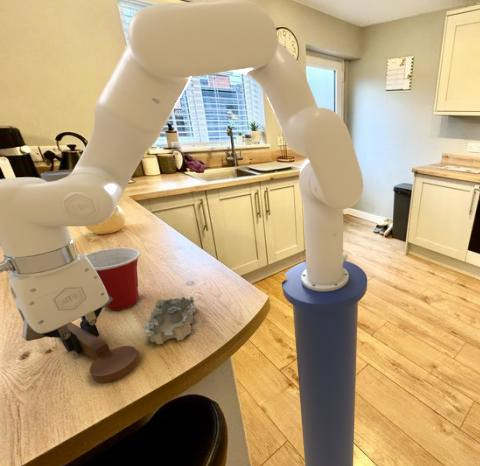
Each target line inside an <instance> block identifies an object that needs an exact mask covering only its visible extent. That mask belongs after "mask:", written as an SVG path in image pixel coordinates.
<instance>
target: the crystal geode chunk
mask: <svg viewBox="0 0 480 466" xmlns="http://www.w3.org/2000/svg"><path fill="white" fill-rule="evenodd" d="M195 302H196V300H195V298H194V296H190V297H189V298H186V297H184V296H181V298H178V297H175V298H169V299H157V300H156V303H155V305H154V309H152V311H151V312H150V315H149V317H148V318H147V322H146V323H145V325H143V331H144V333H145V335H146V337H149V341H150V342H152V343H155V344H156V345H163V344H165V342H166V341H168V340H170V339H176V340H177V341H182V340H184V339H185V338H186V337H187V336H188V335H191V333H192V326H191V325H192V324H194V318H193V317H194V315H193V314H195V313H196V308H195Z"/></svg>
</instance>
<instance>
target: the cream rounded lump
mask: <svg viewBox="0 0 480 466" xmlns="http://www.w3.org/2000/svg"><path fill="white" fill-rule="evenodd" d="M126 221H127V218H126V214H125V211H124V210H123V209H122V207H120V206H119V205H117V207H116V209H115V211H114V213H113V214H112V216H111V217H110V218H109V219H107V220H106V221H104V222H102V223H99V224H96V225H91V226H84V227H85V228H86V229H87V230H88V231H89V232H91V233H93V234H96V235H107V234H108V235H109V234H113V233H116V232H118V231H120V230H122V229H123V228H124V227H125V225H126Z"/></svg>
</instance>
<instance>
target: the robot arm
mask: <svg viewBox="0 0 480 466" xmlns="http://www.w3.org/2000/svg"><path fill="white" fill-rule="evenodd" d="M127 37H128V42H127V44H126V46H125V48H124V50H123V51H122V54H121V55H120V57H119V59H118V62H117V63H116V65H115V67H114V69H113V70H112V73H111V74H110V76H109V78H108V79H107V82H106V83H105V85H104V87H103V88H102V90H101V93H100V94H99V96H98V98H97V100H96V102H95V105H94V110H93V111H94V113H93V114H94V115H93V118H94V123H93V128H92V132H91V135H90V136H89V139H88V141H87V144H86V146H85V148H84V150H83V152H82V153H81V155H80V157H79V159H78V161H77V162H76V164H75V165H74V168H73V169H72V170H73V171H72V173H71V174H69V175H68V176H67V177H65V178H62V179H60V180H57V181H51V182H46V181H45V180H43V179H42V178H41V177H35V176H33V177H32V176H23V177H8V178H0V249H1V251H2V253H3V255H2V257H3V259H2V260H3V261H2V260H1V261H0V274H1V273H5V272H6V273H7V272H10V273H8V283H9V287H10V292H11V295H12V298H13V301H14V303H15V306H16V309H17V312H18V314H19V316H20V318H21V320H22V322H23V326H22V335H21V337H22V339H24V340H25V341H27V342H31V341H36V340H39V339H43V338H55V339H60V341H61V342H62V344H63V347H64V349H65V350H66V351H67V352H69V353H70V352H72V351H73V352H74V353H75V354H77V355H80V354H82V353H83V350H82V348H81V346H80V343H79V341H78V338H77V336H76V335H75V334H73V333H72V332H71V331H70V330H69V329H68V327H67V325H66V324H68V323H70V322H72V323H73V322H74V321H76V320H79V319H81V321H80V322H79V327H80V328H82V329H84V330H85V331H87V332H89V333H91V334H92V335H94V336H96V337H97V338H98V337H100V332H99V329H98V327H97V323H98V318H99V317H100V314H101V313H102V311H103V309H104V308H107V307H106V306H107V305H108V304H109V303H110V302H111V301H112V300H113V299H112V298H111V297H110V296H109V295H108V294H107V291H106V289H105V287H104V285H103V283H102V281H101V279H100V277H99V275H98V273H97V272H96V270H95V268H94V267H93V265H92V264H91V262H90V260H89V259H88V258H87V257H86V254H83V253H79V252H78V250H77V248H76V245H75V243H74V239H73V237H72V235H71V232H70V229H69V227H85V226H91V225H96V224H99V223H102V222H104V221H106V220H107V219H109V218H110V217H111V216H112V214H113V213H114V211H115V209H116V207H117V206H119V205H118V204H119V202H120V200H121V198H122V197H123V195H124V193H125V190H126V188H127V187H128V184H129V183H130V181H131V179H132V177H133V175H134V173H135V172H136V170H137V168H138V167H139V165H140V163H141V161H142V160H143V158H144V156H145V155H146V153H147V152H148V151H149V149H151V147H153V146H154V145H155V143H156V142H157V141H158V139H159V137H160V135H161V134H162V132H163V130H164V129H165V126H166V124H168V123H167V122H168V121H169V119H170V117H171V115H172V114H173V111H174V110H175V108H176V106H177V104H178V103H179V101H180V99H181V98H182V95H183V93H184V92H185V90H186V89H187V87H188V85H189V83H190V81H191V79H192V78H193V77H195V78H196V77H202V76H209V75H215V74H216V75H217V74H224V73H230V72H234V73H239V74H244V75H246V76H247V77H249V78H251V79H252V80H253V81H255V82H256V84H257V85H258V86H259V87H260V88H261V90H262V91H263V93H264V95H265V96H266V99H267V101H268V103H269V105H270V107H271V108H272V112H273V114H274V116H275V117H276V118H275V119H276V121H277V123H278V125H279V128H280V130H281V132H282V135H283V138H284V141H285V142H286V144H287V146H288V147H289V149H290V150H291V151H292V152H294V153H295V154H297V155H300V156H302V157H305V158H307V160H306V161H305V162H304V163H303V165H302V166H301V168H300V171H299V174H298V185H299V191H300V196H301V197H300V198H301V201H302V207H303V208H302V209H303V224H304V246H305V262H306V267H307V269H306V270H304V271H303V273H302V275H301V281H302V284H303V285H304V286H305V287H307V288H309V289H311V290H314V291H321V292H326V291H333V290H337V289H339V288H341V287H343V286H344V285H345V284H346V283H347V282H348V280H349V274H348V272H347V270H346V269H344V268H343V263H344V261H347V259H348V258H349V255H348V254H347V253H346V252H344V210H347V209H350V208H352V207H354V206H355V205H356V204H357V203H358V202H359V200H361V197H362V194H363V191H364V179H363V174H362V170H361V167H360V163H359V159H358V156H357V154H356V151H355V147H354V144H353V140H352V138H351V134H350V132H349V129H348V127H347V125H346V123H345V121H344V119H342V117H341V116H340V115H338V113H336V112H335V111H334V110H332V109H330V108H326V107H319V106H318V104H317V102H316V99H315V96H314V94H313V91H312V89H311V87H310V85H309V84H310V83H309V82H308V80H307V77H306V74H305V72H304V69H303V68H302V66H301V65H300V62H299V61H298V60H297V59H296V57H295V56H294V55H293V54H292V52H290V50H289V49H288V48H287V47H286V46H284V45H283V44H282V43H280V42H279V37H278V30H277V27H276V25H275V22H274V20H273V18H272V17H271V16H270V14H269V13H268V12H267V11H266V10H265V9H264V8H263V7H262V6H260V5H259V4H258V3H256V2H254V1H251V0H200V1H183V2H170V3H159V4H152V5H151V4H150V5H147V6H144V7H142V8H139V9H138V10H136V11H135V12H134V13H133V15H132V16H131V17H130V19H129V22H128V26H127Z"/></svg>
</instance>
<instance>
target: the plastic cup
mask: <svg viewBox="0 0 480 466" xmlns="http://www.w3.org/2000/svg"><path fill="white" fill-rule="evenodd" d="M85 255H86V257H87V258H88V259H89V260H90V262H91V264H92V265H93V267H94V268H95V270H96V272H97V273H98V275H99V277H100V279H101V281H102V283H103V285H104V287H105V289H106V291H107V294H108V295H109V296H110V297H111V298H112V299H113V300H112V301H111V302H110V303H109V304H108V305H107V306H106V307H105V308H107V310H109V311H122V310H125V309H128V308H130V307H132V306H134V305H135V304H137V302H138V301H139V279H138V278H139V277H138V262H139V257H140V256H141V253H140V250H139V249H137V248H135V247H111V248H103V249H99V250H95V251H92V252H89V253H86V254H85Z"/></svg>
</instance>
